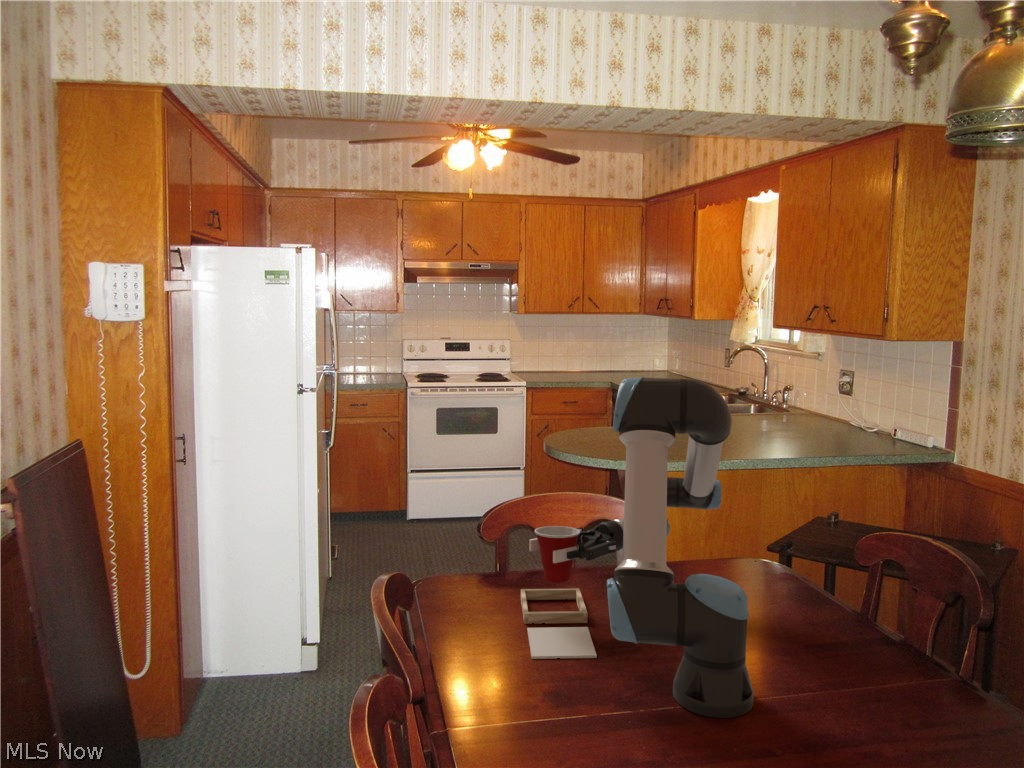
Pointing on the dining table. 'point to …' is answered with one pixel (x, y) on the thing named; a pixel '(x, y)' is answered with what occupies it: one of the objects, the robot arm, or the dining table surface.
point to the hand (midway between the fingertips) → (541, 551)
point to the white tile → (560, 643)
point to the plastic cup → (552, 541)
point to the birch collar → (555, 616)
